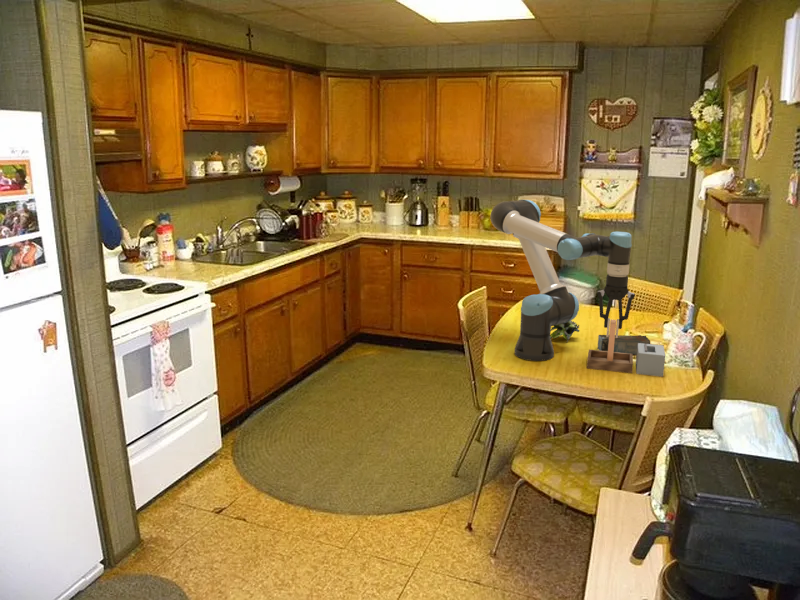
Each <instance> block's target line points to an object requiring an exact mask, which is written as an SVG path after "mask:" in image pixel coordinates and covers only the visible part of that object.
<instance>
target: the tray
mask: <svg viewBox="0 0 800 600" xmlns="http://www.w3.org/2000/svg"><path fill="white" fill-rule="evenodd" d="M587 352H588V354H587V361H586V369H590V370H598V371H608V372H616V373H617V372H619V373H625V374H627V373H628V374H633V369H634V360H633V359H634V358H633V357H634V355H633V354H629V353H619V352H614V353H613V361H607V355H608V351H599V349H588V351H587Z"/></svg>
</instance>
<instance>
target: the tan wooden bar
mask: <svg viewBox="0 0 800 600" xmlns="http://www.w3.org/2000/svg"><path fill="white" fill-rule="evenodd" d="M616 325H617V319H610V326H609V343H608V355H607V361H613V353H614V342H615V335H616Z"/></svg>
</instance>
